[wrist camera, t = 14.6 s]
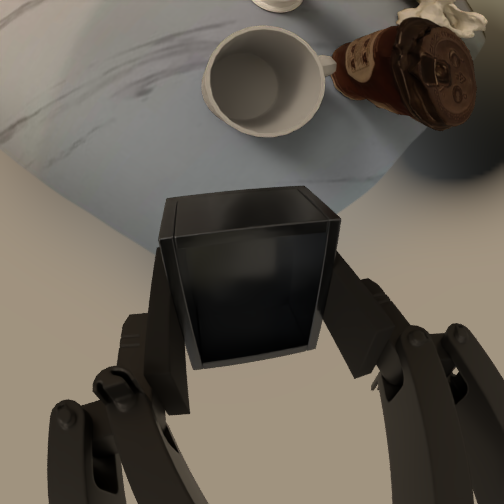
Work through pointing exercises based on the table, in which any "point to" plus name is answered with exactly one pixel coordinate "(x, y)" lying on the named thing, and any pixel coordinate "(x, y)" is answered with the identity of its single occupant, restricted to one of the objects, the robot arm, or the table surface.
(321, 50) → the table surface
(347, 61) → the coffee cup
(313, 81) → the cup
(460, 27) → the bone
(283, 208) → the tray
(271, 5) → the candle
